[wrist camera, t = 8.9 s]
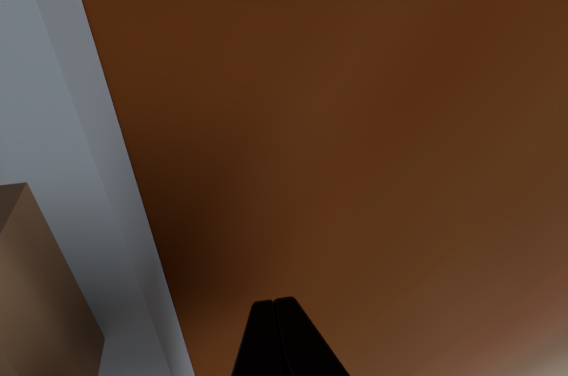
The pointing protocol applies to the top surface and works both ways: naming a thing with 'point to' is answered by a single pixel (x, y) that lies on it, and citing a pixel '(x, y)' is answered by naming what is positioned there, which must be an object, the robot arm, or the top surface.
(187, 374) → the board
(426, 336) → the top surface
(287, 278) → the top surface
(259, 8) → the top surface
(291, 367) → the robot arm
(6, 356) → the brown flat block
